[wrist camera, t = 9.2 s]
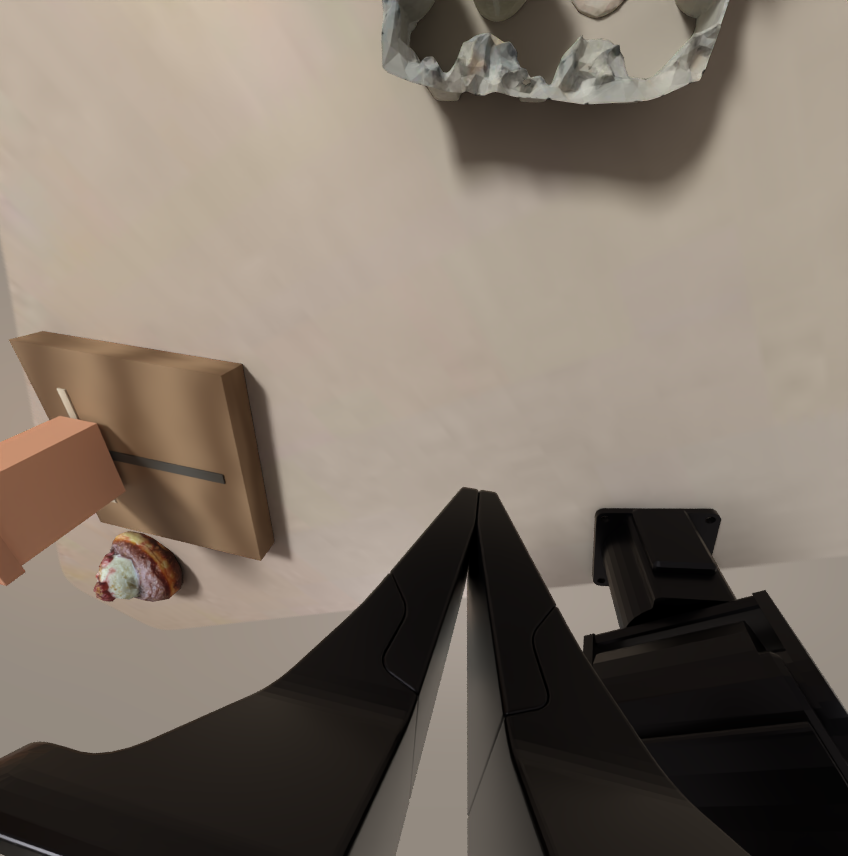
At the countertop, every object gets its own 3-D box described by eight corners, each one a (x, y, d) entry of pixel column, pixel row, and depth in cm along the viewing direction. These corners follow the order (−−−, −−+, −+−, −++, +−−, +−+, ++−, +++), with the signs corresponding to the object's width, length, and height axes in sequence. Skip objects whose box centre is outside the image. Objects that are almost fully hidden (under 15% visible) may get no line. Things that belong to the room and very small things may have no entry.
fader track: (242, 364, 23) (219, 376, 22) (274, 542, 32) (260, 561, 30) (42, 331, 25) (7, 340, 24) (121, 506, 34) (99, 522, 32)
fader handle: (98, 420, 25) (-61, 499, 18) (130, 494, 28) (6, 585, 21) (54, 411, 26) (-118, 484, 19) (90, 485, 29) (-44, 571, 22)
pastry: (109, 521, 36) (54, 562, 31) (180, 541, 35) (133, 586, 31) (132, 574, 40) (86, 617, 36) (195, 593, 39) (156, 639, 35)
